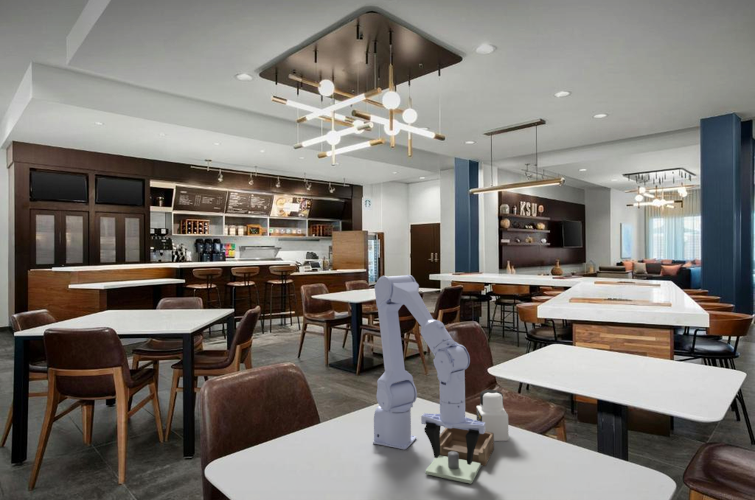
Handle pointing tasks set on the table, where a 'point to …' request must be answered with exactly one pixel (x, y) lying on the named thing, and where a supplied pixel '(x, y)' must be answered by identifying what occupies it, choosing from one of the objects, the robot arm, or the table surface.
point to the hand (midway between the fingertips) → (453, 459)
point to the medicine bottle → (493, 414)
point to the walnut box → (457, 443)
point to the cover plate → (453, 474)
